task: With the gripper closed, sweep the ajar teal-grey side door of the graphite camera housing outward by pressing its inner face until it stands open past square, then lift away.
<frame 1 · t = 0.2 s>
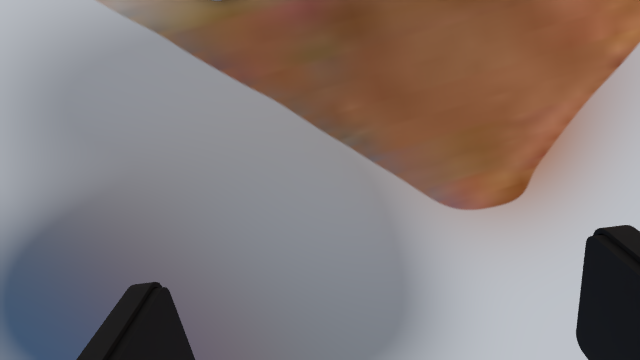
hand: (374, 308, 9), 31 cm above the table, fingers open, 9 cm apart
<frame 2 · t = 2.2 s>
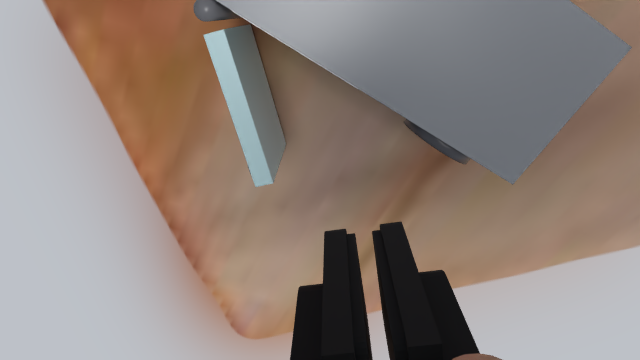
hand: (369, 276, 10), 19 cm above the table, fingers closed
housing: (393, 16, 25), on the table
side door: (247, 101, 23), point 4 cm above the table, hinge at 45.0°
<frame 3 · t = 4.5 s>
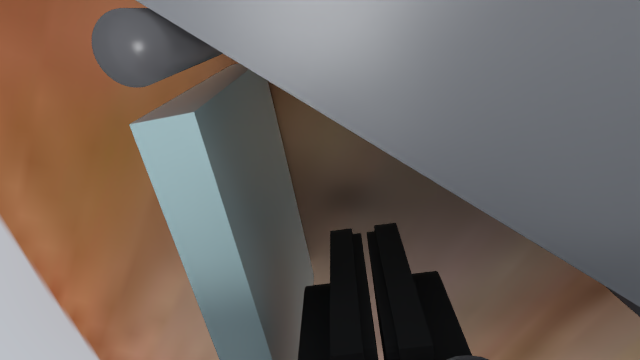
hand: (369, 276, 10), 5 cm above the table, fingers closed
housing: (548, 43, 13), on the table
side door: (249, 235, 11), point 4 cm above the table, hinge at 47.7°, touching gripper
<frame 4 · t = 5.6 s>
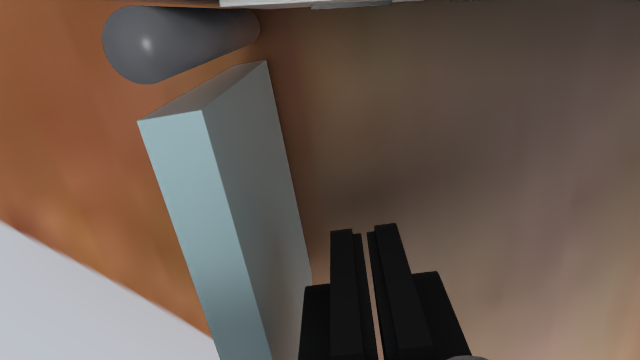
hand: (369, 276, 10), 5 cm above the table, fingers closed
side door: (249, 234, 11), point 4 cm above the table, hinge at 83.4°, touching gripper
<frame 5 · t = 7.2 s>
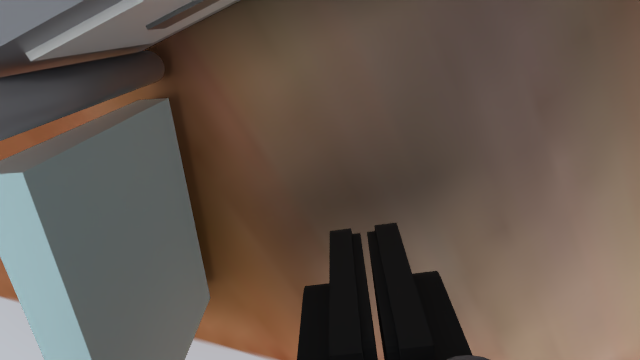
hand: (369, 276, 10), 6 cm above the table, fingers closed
side door: (125, 262, 12), point 4 cm above the table, hinge at 110.3°
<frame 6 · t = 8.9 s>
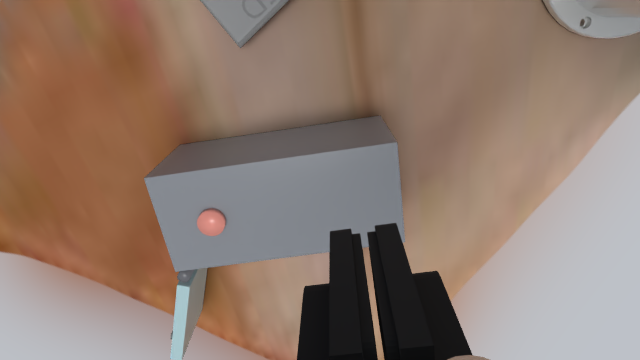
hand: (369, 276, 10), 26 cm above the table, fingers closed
housing: (286, 172, 37), on the table
side door: (187, 297, 37), point 4 cm above the table, hinge at 110.3°
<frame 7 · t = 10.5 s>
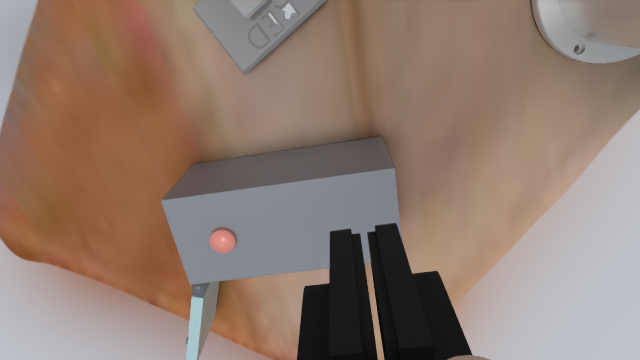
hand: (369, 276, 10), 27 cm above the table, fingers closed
housing: (293, 188, 39), on the table
side door: (201, 306, 39), point 4 cm above the table, hinge at 110.3°
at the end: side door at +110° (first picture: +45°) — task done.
